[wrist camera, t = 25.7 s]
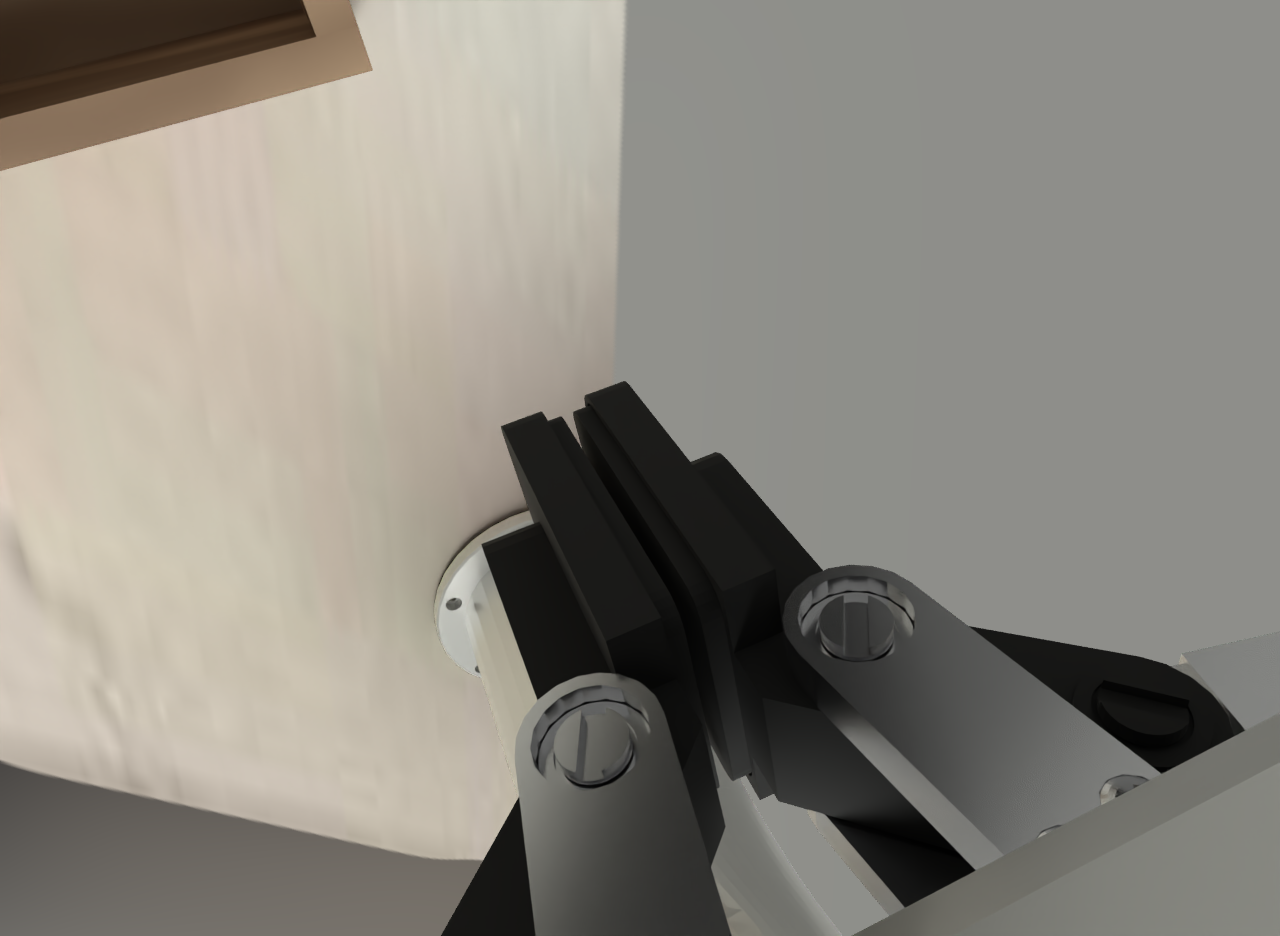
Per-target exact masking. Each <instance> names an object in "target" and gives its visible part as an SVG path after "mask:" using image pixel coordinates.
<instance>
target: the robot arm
mask: <svg viewBox="0 0 1280 936" xmlns="http://www.w3.org/2000/svg"><path fill="white" fill-rule="evenodd" d="M584 399H585V406H586V407H585V408H582V409H579V410H577V411H574V412H573V416H574V421H575V425H576V428H577V432H578V435H579V439H580V442H581V446H582V448H581V447H580V445H579V443H578V442H577V440H576V438H575V437H574V435H573V434H572V432H571V430H570V429H569V427H568V425H567V424H566V422H565V420H564V419H563V418H562V417H561V416H560V417H558V418H555V419H552V420H550V421H547V419H546V417H545V415H544V414H543V412H538V413H536V414H533V415H530V416H527V417H525V418H522V419H519V420H517V421H514V422H511V423H508V424H506V425H503V426H501V429H502V433H503V436H504V439H505V442H506V445H507V448H508V451H509V453H510V456H511V459H512V462H513V465H514V468H515V471H516V474H517V476H518V479H519V482H520V485H521V488H522V491H523V494H524V497H525V500H526V502H527V505H528V508H529V511H526V512H523V513H520V514H517V515H514V516H511V517H509V518H507V519H505V520H503V521H501V522H500V523H498V524H496V525H494V526H492V527H490V528H489V529H487V530H486V531H484V532H483V533H482V534H480V535H479V536H478V537H476V538H475V539H473V540H472V541H471V542H470V543H469V544H468V545H467V546H466V547H465V548H464V549H463V550H462V551H461V552H460V553H459V554H458V555H457V556H456V558H455V559H454V560H453V562H452V563H451V565H450V566H449V567H448V569H447V570H446V572H445V574H444V576H443V578H442V580H441V583H440V585H439V587H438V589H437V594H436V599H435V604H434V616H435V625H436V628H437V632H438V636H439V640H440V642H441V644H442V646H443V648H444V650H445V652H446V654H447V655H448V656H449V657H450V658H451V660H452V661H453V662H454V663H455V664H456V665H457V666H459V667H460V668H462V669H463V670H465V671H466V672H467V673H469V674H471V675H474V676H476V677H479V678H481V679H482V681H483V685H484V688H485V691H486V695H487V698H488V701H489V705H490V708H491V711H492V714H493V718H494V721H495V724H496V728H497V731H498V734H499V737H500V741H501V744H502V747H503V751H504V754H505V757H506V760H507V764H508V767H509V770H510V774H511V777H512V780H513V784H514V787H515V790H516V793H517V797H518V800H517V801H516V803H515V805H514V807H513V808H512V810H511V812H510V814H509V816H508V817H507V819H506V821H505V823H504V824H503V826H502V828H501V830H500V832H499V833H498V835H497V837H496V839H495V841H494V842H493V844H492V846H491V848H490V849H489V851H488V853H487V855H486V857H485V858H484V860H483V862H482V864H481V865H480V867H479V869H478V871H477V873H476V874H475V876H474V878H473V880H472V882H471V883H470V885H469V887H468V889H467V890H466V892H465V894H464V896H463V898H462V899H461V901H460V903H459V905H458V906H457V908H456V910H455V912H454V914H453V915H452V917H451V919H450V921H449V922H448V925H447V926H446V928H445V930H444V931H443V933H442V935H441V936H843V935H842V934H841V933H840V932H839V930H838V929H837V928H836V926H835V925H834V924H833V922H832V921H831V920H830V918H829V917H828V916H827V914H826V913H825V912H824V910H823V909H822V908H821V907H820V905H819V904H818V903H817V901H816V900H815V899H814V897H813V896H812V894H811V893H810V891H809V890H808V889H807V887H806V886H805V885H804V883H803V882H802V880H801V879H800V877H799V876H798V874H797V873H796V871H795V870H794V868H793V867H792V865H791V864H790V862H789V860H788V859H787V857H786V856H785V854H784V852H783V851H782V849H781V848H780V846H779V845H778V843H777V841H776V840H775V839H774V837H773V835H772V833H771V831H770V830H769V828H768V826H767V825H766V823H765V821H764V820H763V818H762V816H761V814H760V813H759V811H758V809H757V808H756V806H755V804H754V802H753V801H752V799H751V797H750V795H749V794H748V792H747V790H746V788H745V786H744V785H743V783H742V781H741V779H740V778H741V777H743V776H745V775H746V776H747V778H748V780H749V782H750V783H751V785H752V787H753V788H754V790H755V792H756V794H757V795H758V797H759V799H760V800H761V799H763V798H765V797H768V796H770V795H772V794H775V796H776V798H777V799H778V801H780V802H784V803H787V804H791V805H794V806H798V807H801V808H805V809H807V812H808V815H809V817H810V818H811V819H812V821H813V823H814V825H815V826H816V828H817V830H818V831H819V832H820V833H821V835H822V836H823V837H824V838H825V839H826V840H827V842H828V843H829V844H830V845H831V847H832V848H833V849H834V850H835V851H836V853H837V854H838V855H839V856H840V857H841V859H842V860H843V861H844V862H845V863H846V865H847V866H848V867H849V868H850V869H851V870H852V872H853V873H854V874H855V875H856V876H857V878H858V879H859V880H860V881H861V882H862V884H863V885H864V886H865V887H866V888H867V890H868V891H869V892H870V893H871V894H872V896H873V897H874V898H875V899H876V900H877V902H878V903H879V904H880V905H881V906H882V908H883V909H884V910H885V911H886V912H887V914H888V915H889V917H887V918H885V919H883V920H881V921H879V922H877V923H875V924H873V925H872V926H870V927H868V928H866V929H864V930H862V931H860V932H858V933H856V934H854V935H853V936H1280V632H1276V633H1272V634H1267V635H1263V636H1259V637H1254V638H1249V639H1245V640H1240V641H1236V642H1231V643H1228V644H1223V645H1218V646H1214V647H1209V648H1205V649H1200V650H1196V651H1192V652H1187V653H1182V654H1181V657H1180V660H1179V664H1178V665H1174V666H1168V665H1167V664H1163V663H1160V662H1156V661H1153V660H1149V659H1145V658H1142V657H1138V656H1132V655H1127V654H1121V653H1116V652H1110V651H1104V650H1099V649H1093V648H1088V647H1082V646H1077V645H1071V644H1065V643H1060V642H1054V641H1049V640H1043V639H1037V638H1032V637H1026V636H1021V635H1015V634H1009V633H1004V632H998V631H993V630H986V629H981V628H976V627H970V626H968V625H966V624H965V623H964V622H962V621H961V620H960V619H958V618H957V617H956V616H954V615H953V614H952V613H951V612H949V611H948V610H947V609H945V608H944V607H942V606H941V605H940V604H939V603H937V602H936V601H935V600H934V599H932V598H931V597H930V596H928V595H927V594H925V593H924V592H923V591H922V590H920V589H919V588H918V587H916V586H915V585H914V584H913V583H911V582H910V581H908V580H906V579H904V578H903V577H901V576H899V575H897V574H896V573H894V572H891V571H888V570H884V569H880V568H877V567H873V566H860V565H846V566H840V567H834V568H828V569H826V570H824V571H823V570H822V569H821V568H820V567H819V565H818V564H817V563H816V562H815V561H814V560H813V559H812V557H811V556H810V555H809V554H808V553H807V552H806V551H805V549H804V548H803V547H802V546H801V545H800V543H799V542H798V541H797V540H796V539H795V538H794V536H793V535H792V534H791V533H790V532H789V531H788V530H787V528H786V527H785V526H784V525H783V524H782V523H781V521H780V520H779V519H778V518H777V517H776V516H775V515H774V513H773V512H772V511H771V510H770V509H769V507H768V506H767V505H766V504H765V503H764V502H763V501H762V499H761V498H760V497H759V496H758V495H757V494H756V492H755V491H754V490H753V489H752V488H751V487H750V485H749V484H748V483H747V482H746V481H745V480H744V479H743V477H742V476H741V475H740V474H739V473H738V472H737V470H736V469H735V468H734V467H733V466H732V465H731V463H730V462H729V461H728V460H727V459H726V458H725V457H724V456H723V455H722V454H720V453H716V452H715V453H713V454H710V455H708V456H705V457H702V458H700V459H697V460H695V461H692V462H690V461H689V460H688V459H687V457H686V456H685V455H684V454H683V452H682V451H681V450H680V448H679V447H678V446H677V445H676V443H675V442H674V441H673V440H672V438H671V437H670V436H669V434H668V433H667V432H666V431H665V430H664V428H663V427H662V426H661V424H660V423H659V422H658V421H657V419H656V418H655V417H654V416H653V415H652V413H651V412H650V411H649V409H648V408H647V407H646V405H645V404H644V403H643V402H642V401H641V399H640V398H639V397H638V395H637V394H636V393H635V392H634V391H633V389H632V388H631V387H630V385H629V384H628V383H627V382H625V381H623V382H620V383H618V384H615V385H612V386H609V387H607V388H604V389H601V390H598V391H596V392H593V393H590V394H588V395H585V398H584ZM582 449H583V450H582Z"/></svg>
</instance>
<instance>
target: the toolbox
mask: <svg viewBox="0 0 1280 936" xmlns="http://www.w3.org/2000/svg"><path fill="white" fill-rule="evenodd" d="M372 70H373V69H372V66H371V64H370V61H369V58H368V55H367V52H366V49H365V46H364V43H363V40H362V37H361V34H360V31H359V28H358V25H357V23H356V20H355V17H354V14H353V11H352V8H351V5H350V2H349V0H0V171H2V170H5V169H9V168H13V167H16V166H20V165H24V164H28V163H31V162H35V161H39V160H42V159H46V158H50V157H53V156H57V155H61V154H65V153H68V152H72V151H76V150H79V149H83V148H87V147H91V146H94V145H98V144H102V143H105V142H109V141H113V140H116V139H120V138H124V137H128V136H131V135H135V134H139V133H142V132H146V131H150V130H154V129H157V128H161V127H165V126H168V125H172V124H176V123H179V122H183V121H187V120H191V119H194V118H198V117H202V116H205V115H209V114H213V113H217V112H220V111H224V110H228V109H231V108H235V107H239V106H242V105H246V104H250V103H254V102H257V101H261V100H265V99H268V98H272V97H276V96H280V95H283V94H287V93H291V92H294V91H298V90H302V89H305V88H309V87H313V86H317V85H320V84H324V83H328V82H331V81H335V80H339V79H343V78H346V77H350V76H354V75H357V74H361V73H365V72H368V71H372Z"/></svg>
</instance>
